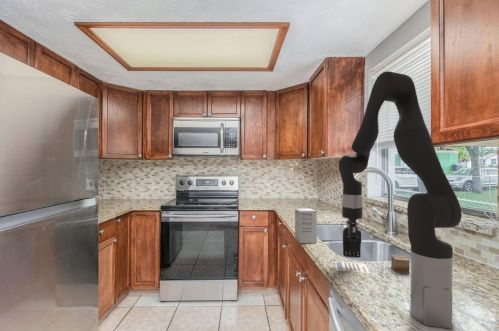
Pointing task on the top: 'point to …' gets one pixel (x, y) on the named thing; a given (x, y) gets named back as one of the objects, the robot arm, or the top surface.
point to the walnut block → (400, 263)
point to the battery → (346, 244)
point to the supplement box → (306, 225)
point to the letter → (351, 267)
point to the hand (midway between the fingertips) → (351, 248)
